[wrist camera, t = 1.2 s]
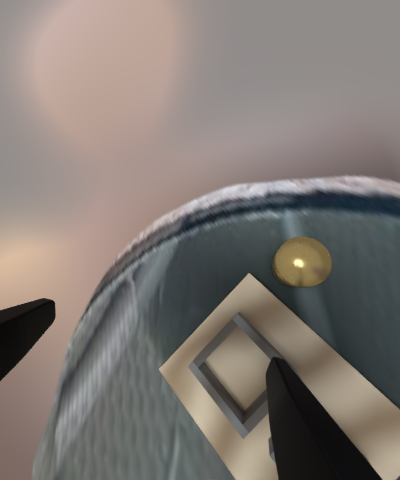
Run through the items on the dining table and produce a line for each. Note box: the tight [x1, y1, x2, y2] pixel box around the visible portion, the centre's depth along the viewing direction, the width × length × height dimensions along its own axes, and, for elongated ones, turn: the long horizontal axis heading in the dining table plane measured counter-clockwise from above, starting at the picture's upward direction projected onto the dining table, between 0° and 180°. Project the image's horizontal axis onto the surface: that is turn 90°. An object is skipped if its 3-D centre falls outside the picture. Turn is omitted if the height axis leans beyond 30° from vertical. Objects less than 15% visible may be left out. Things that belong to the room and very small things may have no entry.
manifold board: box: [159, 273, 400, 480], centre depth 20 cm, size 20×16×4 cm
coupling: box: [271, 237, 332, 287], centre depth 21 cm, size 5×5×6 cm
